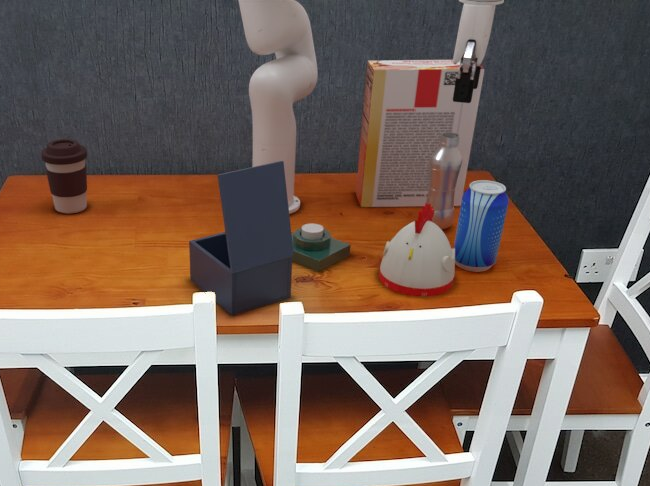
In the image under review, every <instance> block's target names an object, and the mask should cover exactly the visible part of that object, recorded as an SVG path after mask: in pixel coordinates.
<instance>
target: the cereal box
mask: <svg viewBox="0 0 650 486" xmlns="http://www.w3.org/2000/svg"><path fill="white" fill-rule="evenodd" d="M460 61H461V60H460ZM460 61H459V62H457V64H454V63H453V59H402V60H401V59H399V60H398V59H397V60H394V59H393V60H391V59H389V60H388V59H387V60H384V59H383V60H379V59H378V60H367V65H366V75H365V86H364V87H365V88H364V97H363V109H362V120H361V121H362V122H361V130H360V131H361V132H360V140H359V141H360V143H359V154H358V165H357V175H356V176H357V177H356V184H355V185H356V186H355V195H356V198H357V200H358V203H359V206H360V208H374V207H375V208H383V207H387V208H388V207H389V208H390V207H392V208H393V207H396V208H397V207H398V208H399V207H423V206H425V204H426V199H427V195H428V190H429V178H430V174H429V165H430V164H429V161H430V157H431V155H432V154H433V152H434V151H435V150H436V149H437V148H438V147H439V146H440V144H439V140H440V136H441V134H442V133H445V132H451V133H456V134H459V145H458V146H457V149H458V150H459V152H460V154H461V157H462V165H461V169H460V172H459V175H458V179H457V183H456V187H455V193H454V207H461V202H462V197H463V194H464V192H465V185H466V179H467V173H468V167H469V161H470V155H471V151H472V146H473V145H472V144H473V140H474V133H475V128H476V121H477V116H478V111H479V110H478V109H479V104H480V100H481V99H480V98H481V93H482V92H481V91H482V87H483V83H484V81H483V80H484V75H485V67H483V66H482V65H481V64H480V66H481V70H480V76H479V82H478V87H477V89H473V94H472V100H471V102H470V103H462V102H454V101H453V95H454V88H455V82H456V78H457V75H458V71H459V66H460Z"/></svg>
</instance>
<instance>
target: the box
mask: <svg viewBox="0 0 650 486" xmlns="http://www.w3.org/2000/svg"><path fill="white" fill-rule="evenodd" d="M188 247H189V248H188V249H189V250H188V251H189V252H188V253H189V275H190V276H189V277H190V278H189V279H190V282H191V283H193V284H194V285H195V286H196V287H198V288H199V289H200V290H201V291H202V292H203V293H205V292H207V291H212V292H215V294H216V302H215V303H216V304H217V305H219V306H220V307H221V308H222V309H223V310H224V311H226V312H227V313H228V314H229V315H230V316H231V317H232V316H237V315H239V314H242V313H245V312H246V313H247V312H249V311H253V310H255V309H259V308H263V307H265V306H269V305H272V304H274V303H279V302H281V301H285V300H288V299H292V297H291V295H292V276H293V275H292V274H293V261H292V257H291V256H289V257H285V258H282V259H278V260H274V261H271V262H267V263H264V264H260V265H256V266H253V267H249V268H246V269H242V270H238V271H235V272H232V271H231V269H230V262H229V255H228V247H227V240H226V233H225V231H223V232H219V233H214V234H211V235H207V236H203V237H199V238H195V239H190V240H189V241H188Z"/></svg>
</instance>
